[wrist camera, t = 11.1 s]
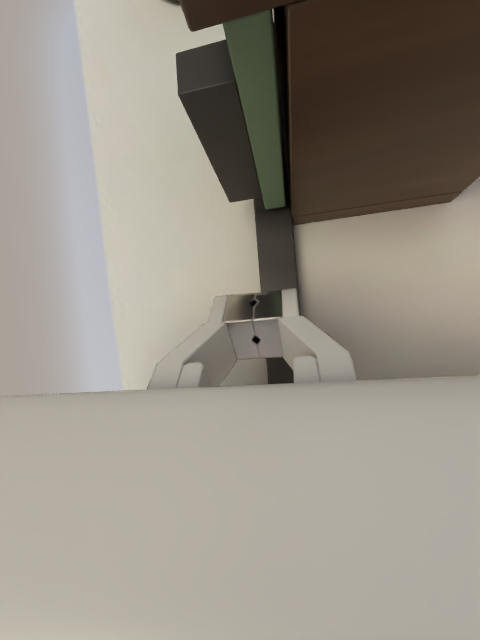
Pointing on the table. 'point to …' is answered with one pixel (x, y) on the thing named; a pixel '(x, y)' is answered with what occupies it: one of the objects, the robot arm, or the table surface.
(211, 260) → the table surface
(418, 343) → the table surface
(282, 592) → the robot arm
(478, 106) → the cabinet
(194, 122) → the door
